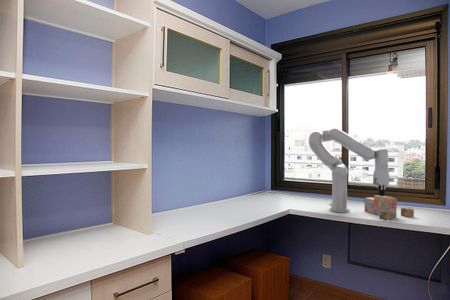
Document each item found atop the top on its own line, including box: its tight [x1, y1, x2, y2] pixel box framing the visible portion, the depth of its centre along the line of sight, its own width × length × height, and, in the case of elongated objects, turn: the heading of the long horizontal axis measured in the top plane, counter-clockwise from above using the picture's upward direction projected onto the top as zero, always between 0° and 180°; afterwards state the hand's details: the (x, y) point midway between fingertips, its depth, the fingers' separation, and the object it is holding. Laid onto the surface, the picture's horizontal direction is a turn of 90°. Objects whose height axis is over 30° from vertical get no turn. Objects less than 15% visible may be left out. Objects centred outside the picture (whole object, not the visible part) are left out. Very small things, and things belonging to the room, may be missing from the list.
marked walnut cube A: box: [379, 210, 393, 221], centre depth 180 cm, size 5×5×5 cm
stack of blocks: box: [363, 194, 398, 219], centre depth 194 cm, size 21×6×12 cm, turn 14°
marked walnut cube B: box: [400, 207, 415, 218], centre depth 188 cm, size 5×5×5 cm
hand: (381, 195), depth 193 cm, fingers closed
